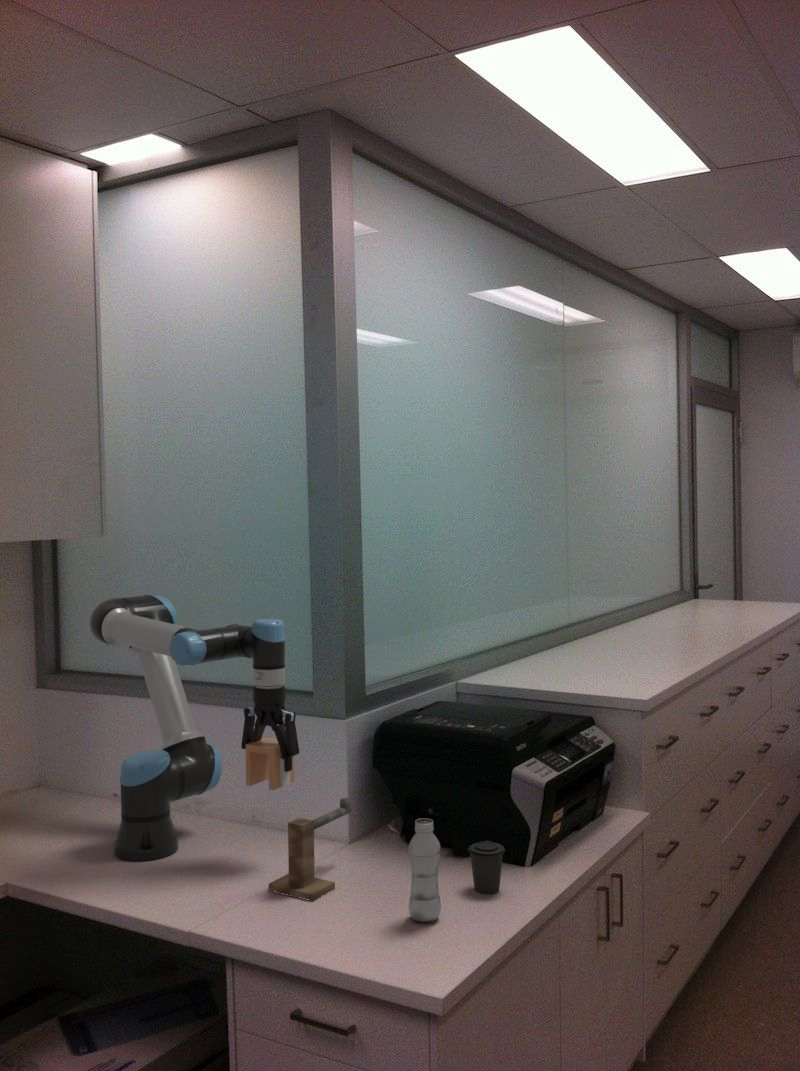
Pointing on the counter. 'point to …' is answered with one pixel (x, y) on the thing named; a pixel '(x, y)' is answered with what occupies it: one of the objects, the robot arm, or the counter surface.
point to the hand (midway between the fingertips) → (270, 782)
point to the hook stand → (306, 857)
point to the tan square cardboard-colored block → (265, 763)
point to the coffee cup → (486, 866)
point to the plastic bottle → (424, 873)
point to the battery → (460, 845)
